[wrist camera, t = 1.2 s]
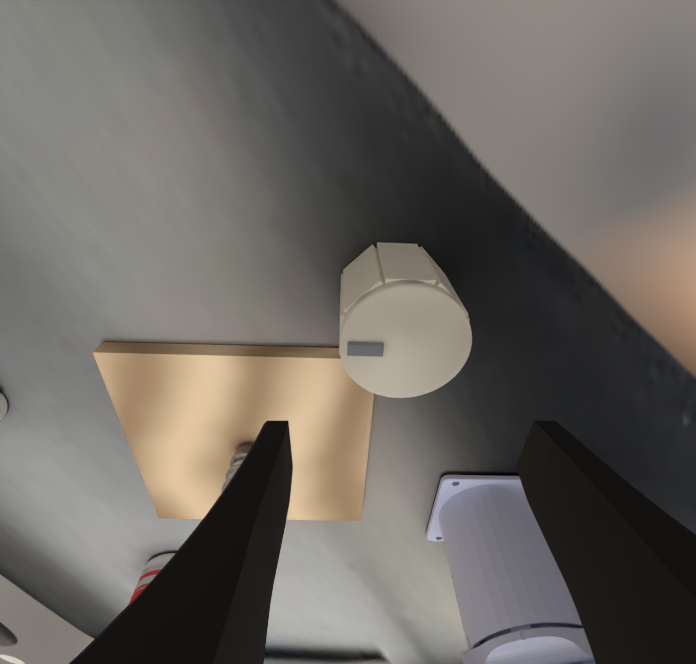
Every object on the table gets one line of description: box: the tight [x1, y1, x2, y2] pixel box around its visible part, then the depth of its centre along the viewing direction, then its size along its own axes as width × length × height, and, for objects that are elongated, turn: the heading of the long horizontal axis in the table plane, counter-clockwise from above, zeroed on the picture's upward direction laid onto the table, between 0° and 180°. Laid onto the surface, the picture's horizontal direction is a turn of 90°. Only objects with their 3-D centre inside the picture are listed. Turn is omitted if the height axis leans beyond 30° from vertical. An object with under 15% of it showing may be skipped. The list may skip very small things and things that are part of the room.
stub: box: [221, 442, 254, 492], centre depth 22 cm, size 2×2×4 cm
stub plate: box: [93, 342, 374, 521], centre depth 24 cm, size 15×15×1 cm
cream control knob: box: [339, 242, 472, 398], centre depth 17 cm, size 5×5×5 cm
